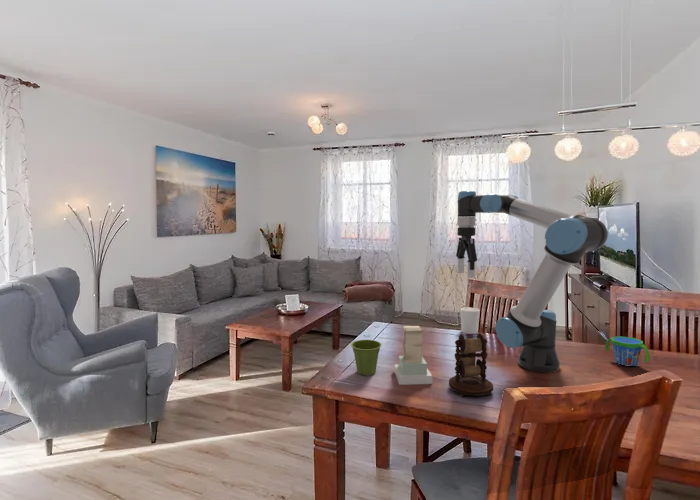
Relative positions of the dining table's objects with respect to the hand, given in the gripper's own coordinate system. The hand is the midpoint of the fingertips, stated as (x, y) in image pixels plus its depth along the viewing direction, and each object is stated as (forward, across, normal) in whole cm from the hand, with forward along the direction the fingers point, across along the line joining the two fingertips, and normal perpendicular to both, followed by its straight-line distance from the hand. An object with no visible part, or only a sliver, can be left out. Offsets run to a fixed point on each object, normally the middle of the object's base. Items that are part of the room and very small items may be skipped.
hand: (465, 275), depth 174 cm
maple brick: (+28, -26, +29) cm, 48 cm away
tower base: (+35, -27, +29) cm, 52 cm away
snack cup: (+35, -19, -60) cm, 72 cm away
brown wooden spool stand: (+35, -39, +11) cm, 53 cm away
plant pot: (+35, -20, +46) cm, 61 cm away
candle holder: (+35, +31, -13) cm, 48 cm away
